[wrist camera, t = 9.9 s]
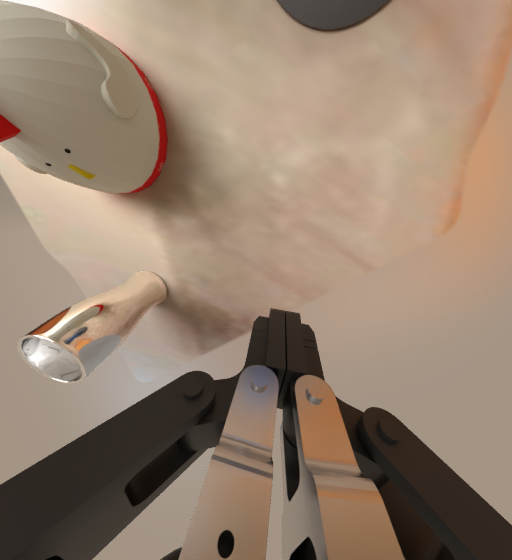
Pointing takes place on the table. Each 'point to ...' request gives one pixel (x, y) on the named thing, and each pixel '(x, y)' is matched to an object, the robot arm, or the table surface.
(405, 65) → the table surface
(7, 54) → the kitchen timer
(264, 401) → the robot arm
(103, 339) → the beer glass
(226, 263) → the table surface
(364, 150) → the table surface
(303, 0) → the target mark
